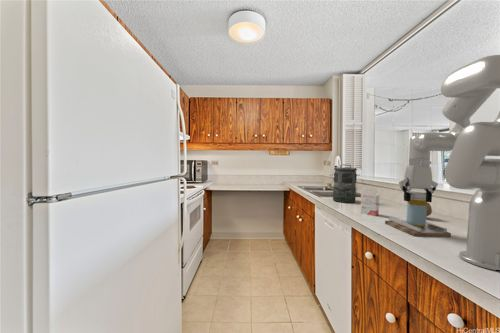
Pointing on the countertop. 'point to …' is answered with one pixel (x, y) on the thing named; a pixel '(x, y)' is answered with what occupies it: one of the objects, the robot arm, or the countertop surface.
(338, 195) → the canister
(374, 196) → the ink cartridge box
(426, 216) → the natural sponge
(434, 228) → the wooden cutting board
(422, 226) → the bottle
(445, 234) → the walnut board
